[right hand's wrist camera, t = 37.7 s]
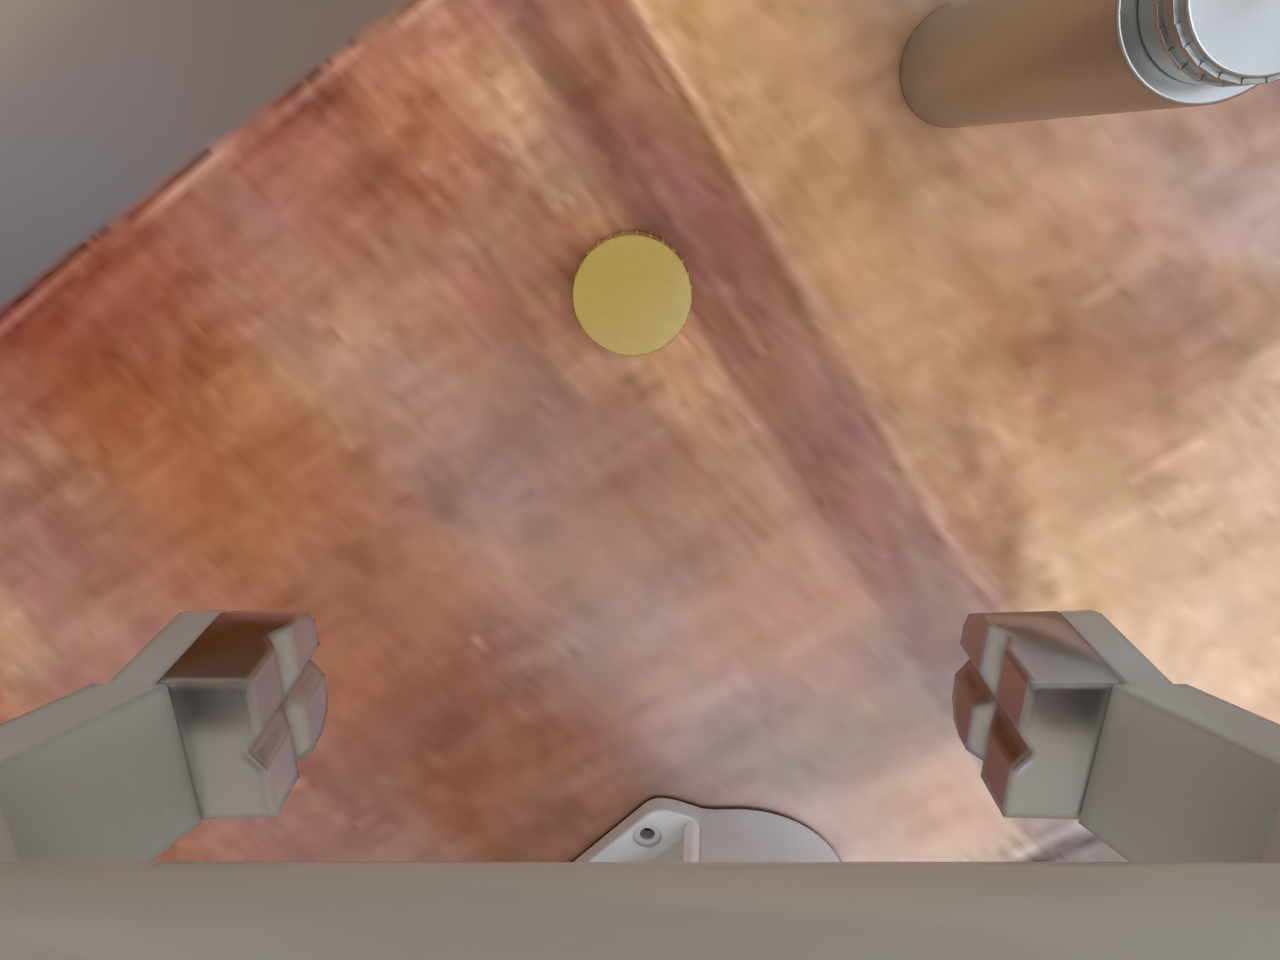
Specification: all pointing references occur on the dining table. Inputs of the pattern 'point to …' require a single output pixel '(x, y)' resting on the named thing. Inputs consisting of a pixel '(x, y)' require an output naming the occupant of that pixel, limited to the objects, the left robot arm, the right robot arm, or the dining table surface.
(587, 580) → the dining table surface
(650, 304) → the lid
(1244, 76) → the silver canister
